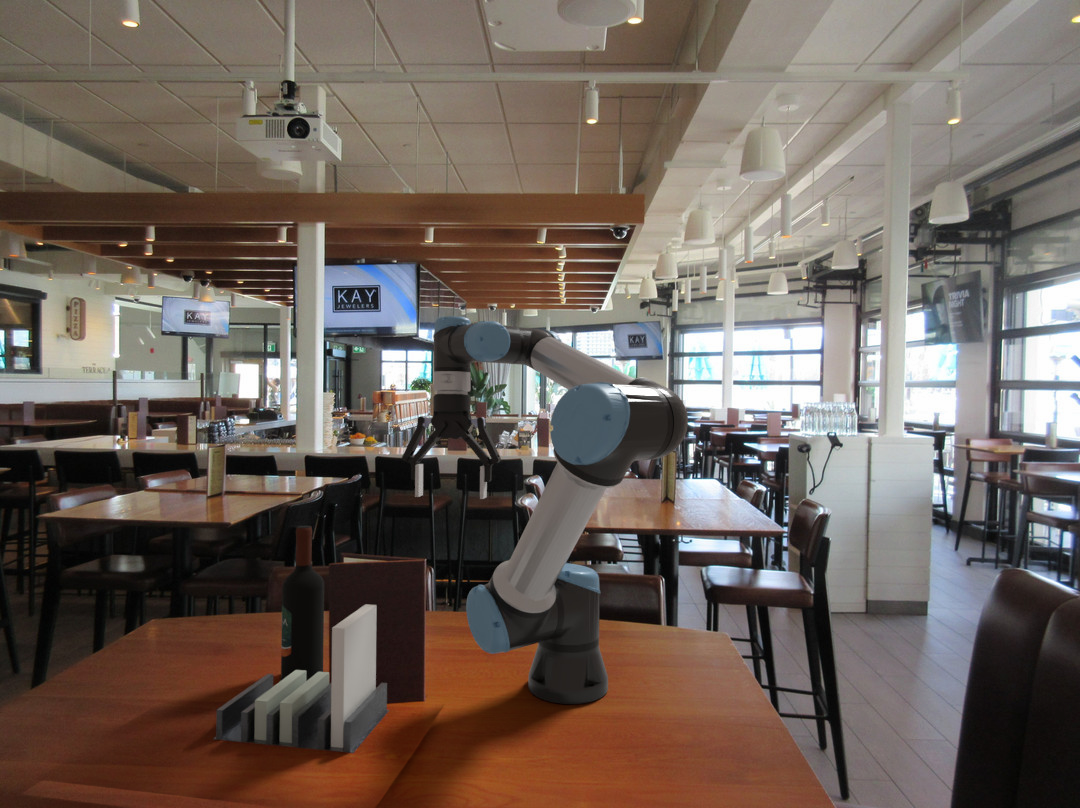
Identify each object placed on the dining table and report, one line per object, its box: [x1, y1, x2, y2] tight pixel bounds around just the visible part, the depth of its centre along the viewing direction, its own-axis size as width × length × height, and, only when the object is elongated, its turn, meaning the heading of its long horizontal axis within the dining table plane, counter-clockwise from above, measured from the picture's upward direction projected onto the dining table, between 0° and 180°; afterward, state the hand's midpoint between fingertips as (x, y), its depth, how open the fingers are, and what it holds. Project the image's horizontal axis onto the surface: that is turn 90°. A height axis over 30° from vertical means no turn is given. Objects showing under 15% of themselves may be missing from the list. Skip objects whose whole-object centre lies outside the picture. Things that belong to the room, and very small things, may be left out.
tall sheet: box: [331, 603, 377, 748], centre depth 105 cm, size 2×12×18 cm, turn 171°
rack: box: [213, 673, 390, 754], centre depth 106 cm, size 23×14×6 cm, turn 81°
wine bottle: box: [280, 525, 325, 681], centre depth 125 cm, size 8×8×30 cm
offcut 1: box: [254, 670, 307, 740], centre depth 107 cm, size 2×12×6 cm, turn 171°
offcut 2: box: [280, 671, 330, 743], centre depth 106 cm, size 2×12×6 cm, turn 171°
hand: (450, 497), depth 134 cm, fingers open, 13 cm apart
